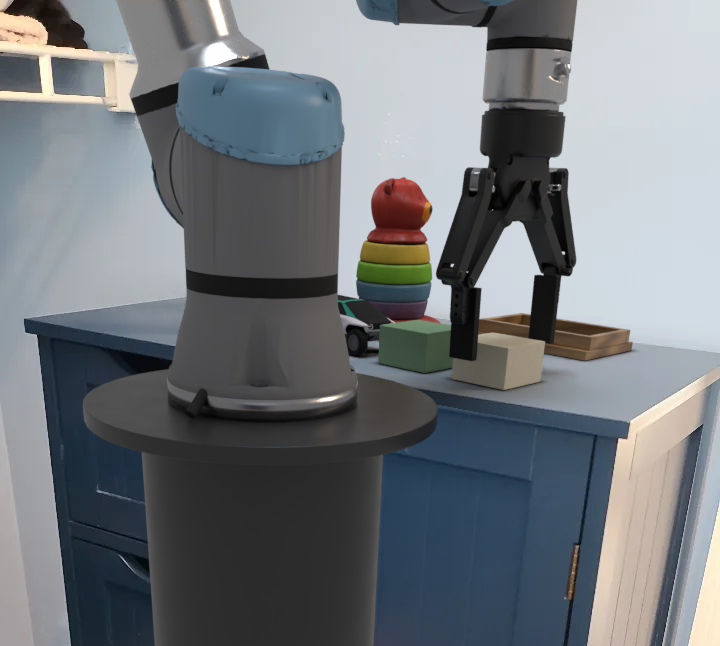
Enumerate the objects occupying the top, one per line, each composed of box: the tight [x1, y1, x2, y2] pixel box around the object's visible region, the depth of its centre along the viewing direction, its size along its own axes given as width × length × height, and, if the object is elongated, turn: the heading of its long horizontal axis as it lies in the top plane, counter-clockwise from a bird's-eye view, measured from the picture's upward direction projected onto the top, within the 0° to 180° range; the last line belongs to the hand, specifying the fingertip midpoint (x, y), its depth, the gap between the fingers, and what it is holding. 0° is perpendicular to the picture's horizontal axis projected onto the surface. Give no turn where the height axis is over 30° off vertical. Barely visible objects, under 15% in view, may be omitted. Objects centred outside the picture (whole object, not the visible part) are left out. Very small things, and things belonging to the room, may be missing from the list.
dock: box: [478, 312, 634, 362], centre depth 116 cm, size 11×16×2 cm
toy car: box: [338, 294, 395, 357], centre depth 109 cm, size 6×12×5 cm, turn 40°
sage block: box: [377, 320, 453, 374], centre depth 102 cm, size 6×6×4 cm
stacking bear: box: [355, 176, 441, 323], centre depth 116 cm, size 11×10×18 cm
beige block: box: [451, 332, 545, 391], centre depth 96 cm, size 6×6×4 cm
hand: (503, 350), depth 95 cm, fingers open, 13 cm apart
